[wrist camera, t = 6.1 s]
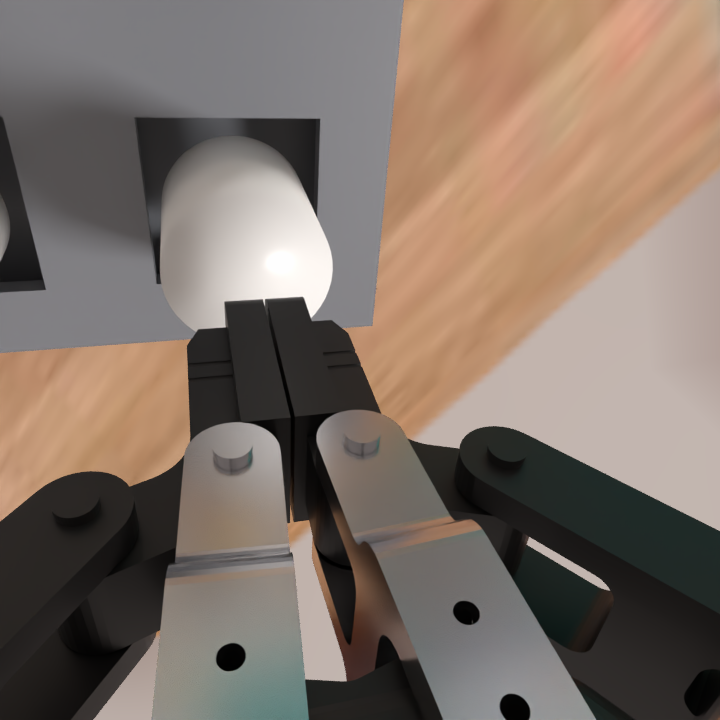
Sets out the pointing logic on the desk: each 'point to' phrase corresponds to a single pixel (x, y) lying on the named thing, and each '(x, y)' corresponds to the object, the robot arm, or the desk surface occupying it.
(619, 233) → the desk surface
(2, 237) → the button
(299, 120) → the button board
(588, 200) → the desk surface
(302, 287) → the button
